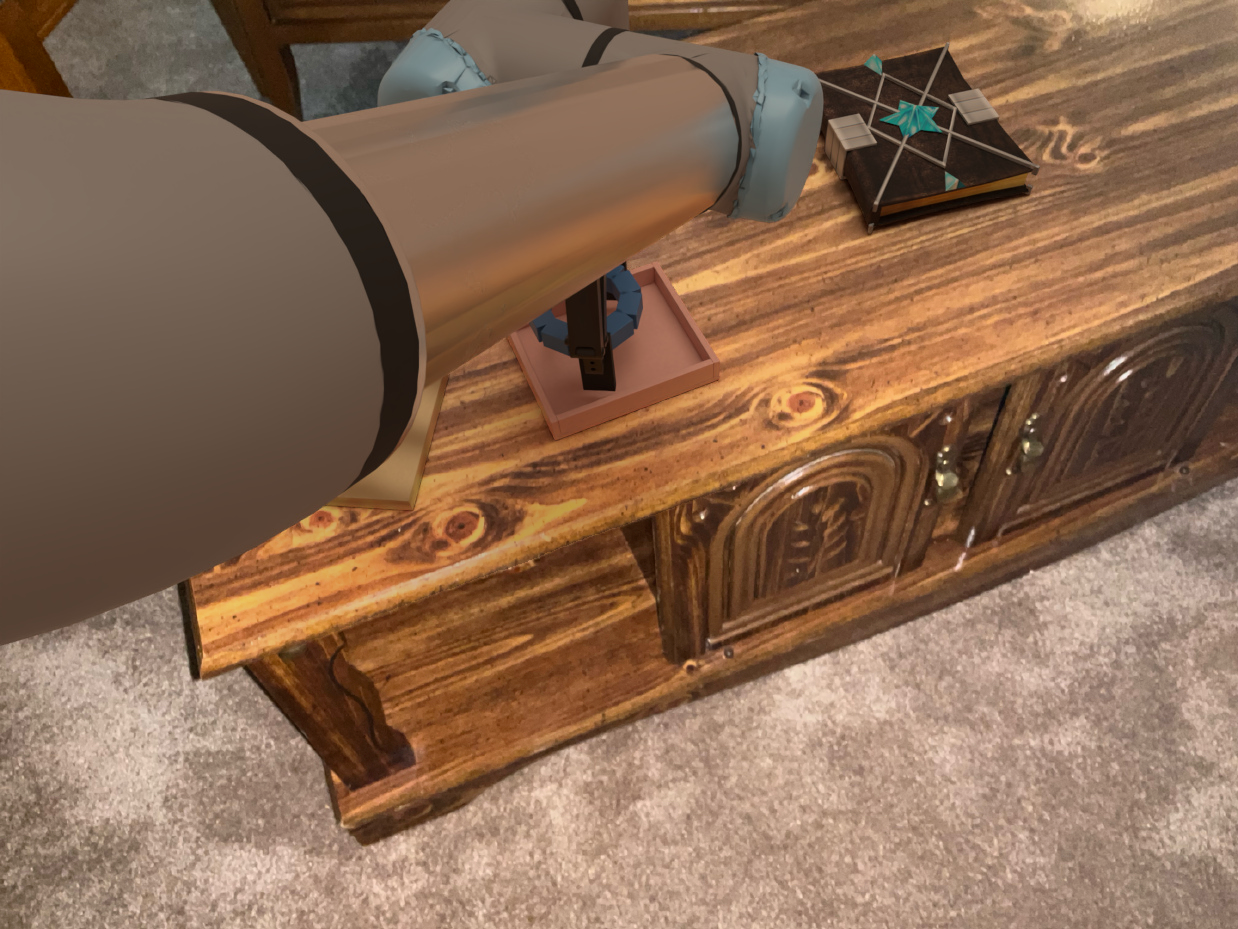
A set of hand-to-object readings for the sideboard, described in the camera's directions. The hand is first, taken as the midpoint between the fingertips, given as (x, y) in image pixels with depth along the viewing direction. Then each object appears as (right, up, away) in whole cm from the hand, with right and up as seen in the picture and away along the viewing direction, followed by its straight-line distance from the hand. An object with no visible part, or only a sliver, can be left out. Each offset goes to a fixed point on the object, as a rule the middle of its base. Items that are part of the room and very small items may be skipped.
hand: (607, 340), depth 83 cm
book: (+30, +21, +15) cm, 40 cm away
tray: (0, -1, +2) cm, 2 cm away
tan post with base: (-22, -8, -1) cm, 23 cm away
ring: (-2, +2, -3) cm, 4 cm away
